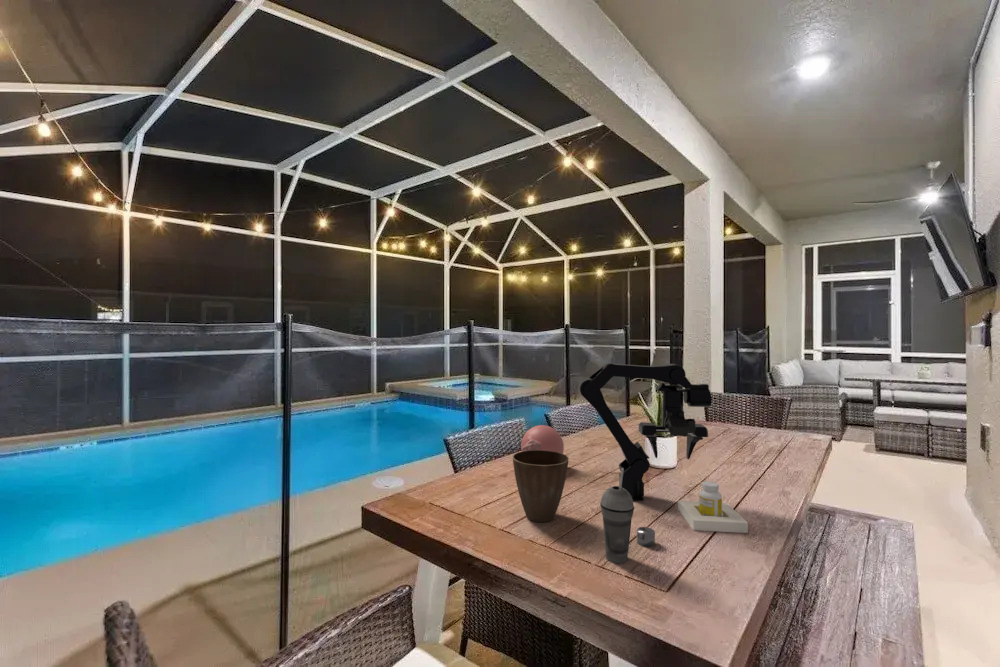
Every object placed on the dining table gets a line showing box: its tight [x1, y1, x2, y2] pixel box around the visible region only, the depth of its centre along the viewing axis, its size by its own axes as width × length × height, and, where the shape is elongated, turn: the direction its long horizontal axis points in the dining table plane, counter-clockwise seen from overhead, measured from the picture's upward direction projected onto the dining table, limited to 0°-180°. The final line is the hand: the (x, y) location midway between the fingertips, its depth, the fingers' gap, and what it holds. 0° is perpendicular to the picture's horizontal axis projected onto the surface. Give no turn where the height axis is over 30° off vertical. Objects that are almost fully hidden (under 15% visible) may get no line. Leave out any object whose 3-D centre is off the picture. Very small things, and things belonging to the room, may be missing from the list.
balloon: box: [520, 424, 565, 454], centre depth 161 cm, size 15×20×15 cm
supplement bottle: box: [698, 481, 723, 517], centre depth 118 cm, size 5×5×10 cm
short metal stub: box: [636, 526, 656, 548], centre depth 105 cm, size 4×4×3 cm
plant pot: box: [512, 450, 569, 523], centre depth 120 cm, size 15×15×16 cm
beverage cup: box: [600, 468, 635, 564], centre depth 98 cm, size 7×7×20 cm
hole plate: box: [677, 500, 749, 534], centre depth 118 cm, size 13×13×2 cm
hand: (672, 458), depth 134 cm, fingers open, 9 cm apart
